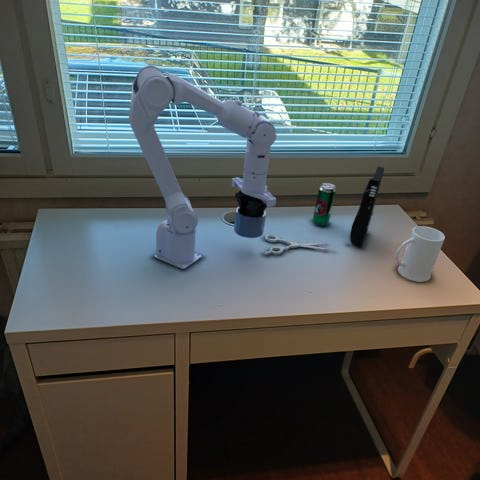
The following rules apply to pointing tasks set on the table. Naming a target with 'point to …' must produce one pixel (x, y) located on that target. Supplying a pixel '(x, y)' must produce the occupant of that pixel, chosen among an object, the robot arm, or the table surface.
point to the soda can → (324, 204)
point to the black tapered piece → (366, 209)
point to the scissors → (291, 244)
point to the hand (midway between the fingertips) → (249, 222)
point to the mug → (420, 253)
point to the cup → (249, 225)
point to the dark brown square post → (248, 211)
